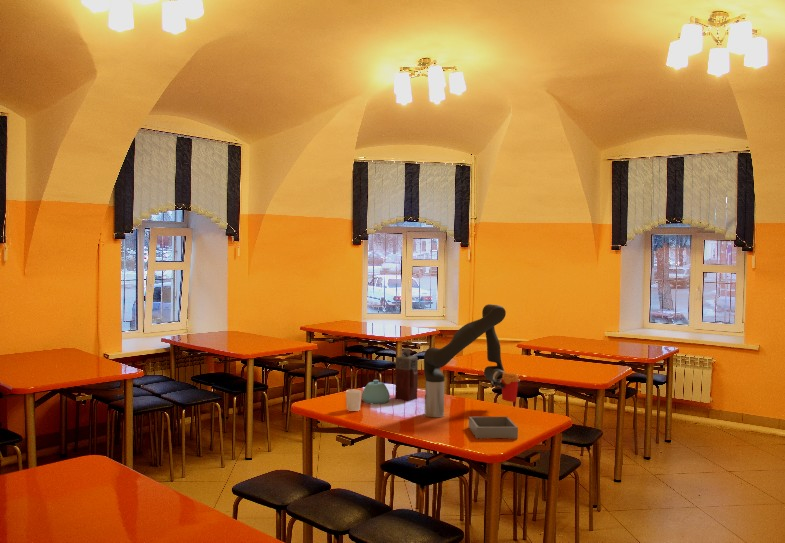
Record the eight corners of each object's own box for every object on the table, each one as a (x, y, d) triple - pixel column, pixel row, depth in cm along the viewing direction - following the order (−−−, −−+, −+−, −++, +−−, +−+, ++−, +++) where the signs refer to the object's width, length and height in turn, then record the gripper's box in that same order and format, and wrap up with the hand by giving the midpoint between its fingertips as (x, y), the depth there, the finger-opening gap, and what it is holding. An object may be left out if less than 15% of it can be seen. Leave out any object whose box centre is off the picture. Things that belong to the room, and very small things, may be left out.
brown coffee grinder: (412, 401, 334) (413, 350, 333) (395, 399, 340) (395, 348, 339) (420, 398, 342) (421, 348, 341) (403, 396, 348) (404, 346, 347)
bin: (476, 439, 267) (476, 427, 267) (468, 427, 285) (469, 416, 285) (517, 438, 269) (517, 427, 269) (507, 427, 287) (507, 416, 286)
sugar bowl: (373, 396, 345) (373, 376, 345) (395, 400, 336) (395, 379, 336) (356, 401, 333) (356, 380, 333) (378, 406, 324) (378, 384, 324)
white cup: (355, 413, 309) (355, 393, 308) (342, 410, 313) (342, 391, 312) (364, 410, 315) (364, 390, 315) (351, 407, 319) (351, 388, 319)
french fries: (499, 398, 298) (500, 371, 297) (504, 397, 300) (505, 371, 300) (514, 402, 291) (515, 375, 290) (520, 401, 293) (521, 374, 293)
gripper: (487, 371, 310) (495, 378, 293) (516, 371, 311) (525, 378, 294) (487, 386, 310) (495, 394, 293) (515, 386, 311) (524, 394, 294)
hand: (510, 386), depth 294 cm, fingers closed on french fries, 5 cm apart
